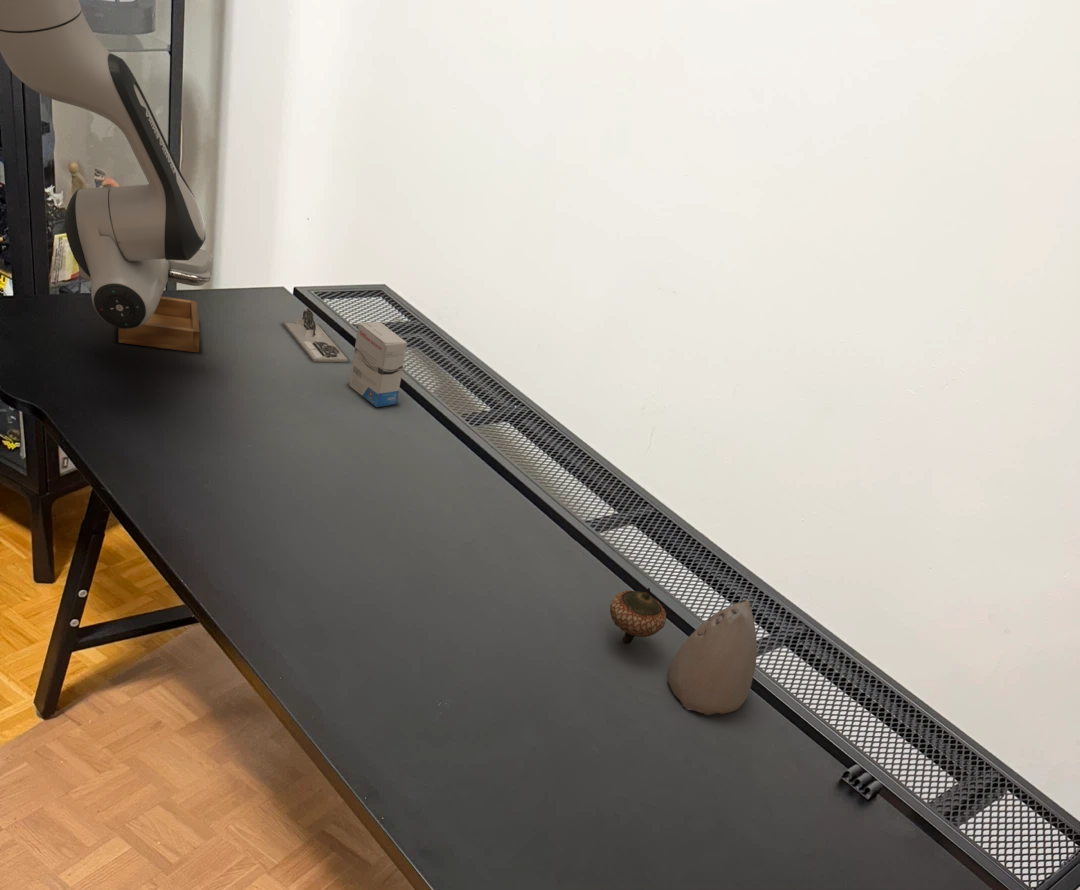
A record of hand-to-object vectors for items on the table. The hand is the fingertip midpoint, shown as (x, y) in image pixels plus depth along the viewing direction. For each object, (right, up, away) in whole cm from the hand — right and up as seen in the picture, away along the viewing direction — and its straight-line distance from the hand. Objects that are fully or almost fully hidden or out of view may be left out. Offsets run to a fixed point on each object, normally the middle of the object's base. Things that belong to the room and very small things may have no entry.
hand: (152, 238), depth 167 cm
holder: (-4, -10, +13) cm, 17 cm away
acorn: (+76, -68, -20) cm, 104 cm away
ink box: (+33, -21, +17) cm, 43 cm away
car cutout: (+21, -8, +27) cm, 35 cm away
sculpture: (+87, -75, -24) cm, 117 cm away
